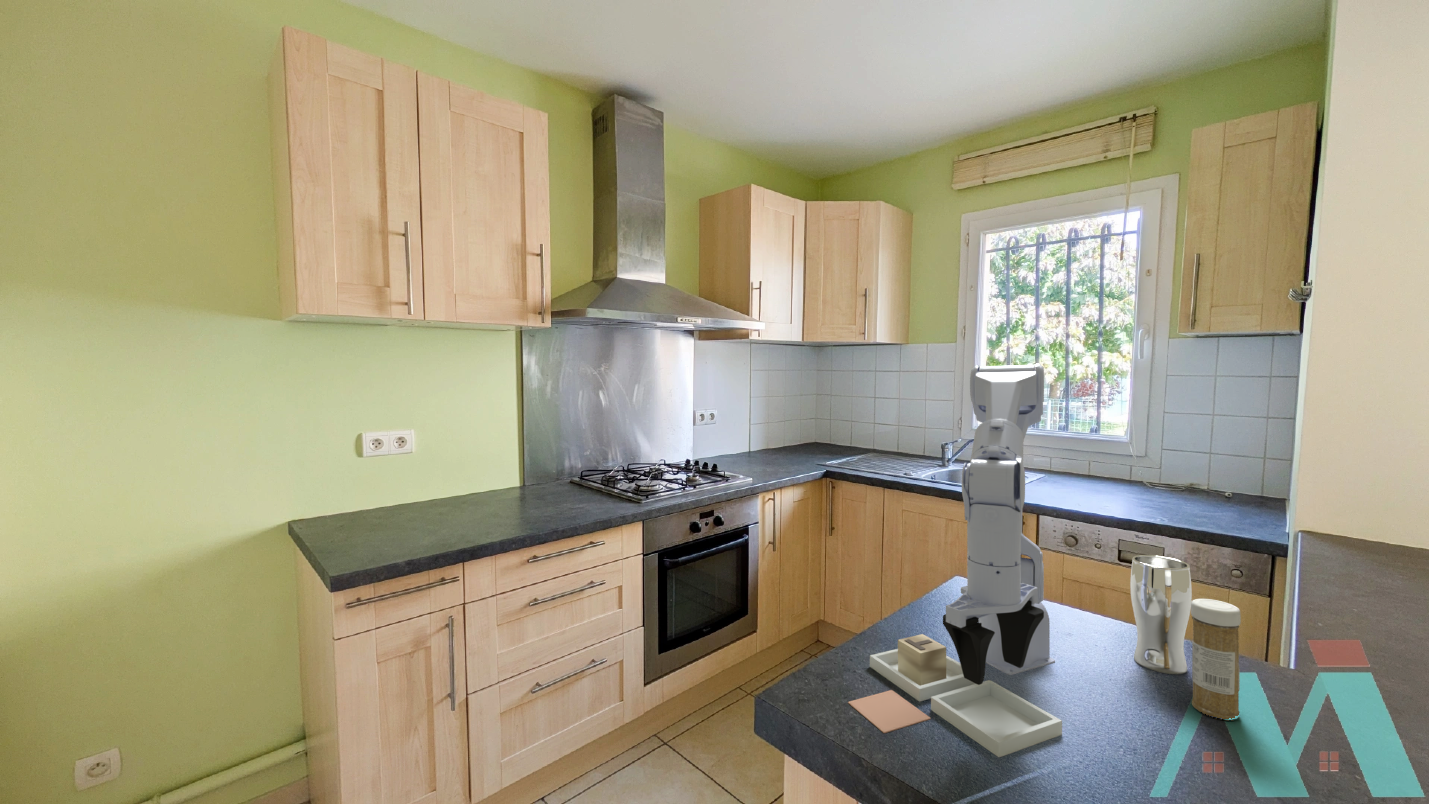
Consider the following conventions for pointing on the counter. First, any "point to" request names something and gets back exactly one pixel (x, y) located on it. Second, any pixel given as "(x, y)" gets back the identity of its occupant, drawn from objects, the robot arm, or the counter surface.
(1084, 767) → the counter surface
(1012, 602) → the robot arm
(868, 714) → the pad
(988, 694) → the bin near camera
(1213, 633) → the sprinkles bottle
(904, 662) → the letter cube
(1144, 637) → the beer glass
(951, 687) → the bin near arm
